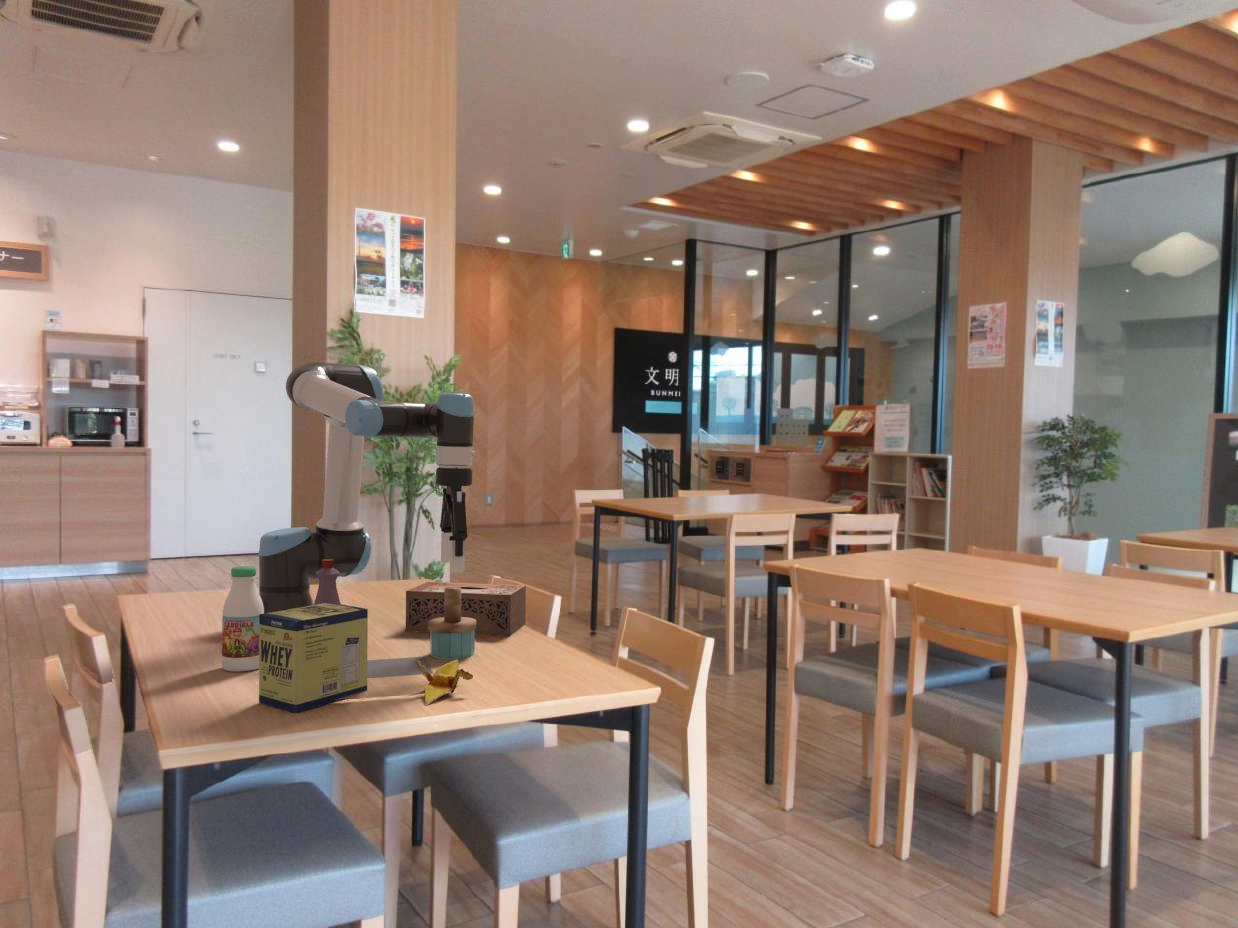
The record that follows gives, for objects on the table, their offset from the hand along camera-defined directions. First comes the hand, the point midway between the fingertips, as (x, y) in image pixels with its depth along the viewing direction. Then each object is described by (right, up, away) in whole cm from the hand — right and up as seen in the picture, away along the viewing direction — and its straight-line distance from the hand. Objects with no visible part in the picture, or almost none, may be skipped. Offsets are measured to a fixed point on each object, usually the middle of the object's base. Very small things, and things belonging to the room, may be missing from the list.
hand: (452, 567), depth 190 cm
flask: (-27, -19, +1) cm, 33 cm away
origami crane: (+3, -20, -27) cm, 33 cm away
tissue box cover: (-2, -19, +30) cm, 36 cm away
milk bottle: (-39, -19, -12) cm, 45 cm away
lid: (0, -13, 0) cm, 13 cm away
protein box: (-18, -20, -32) cm, 42 cm away
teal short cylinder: (0, -19, 0) cm, 19 cm away
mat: (-10, -19, -12) cm, 24 cm away
